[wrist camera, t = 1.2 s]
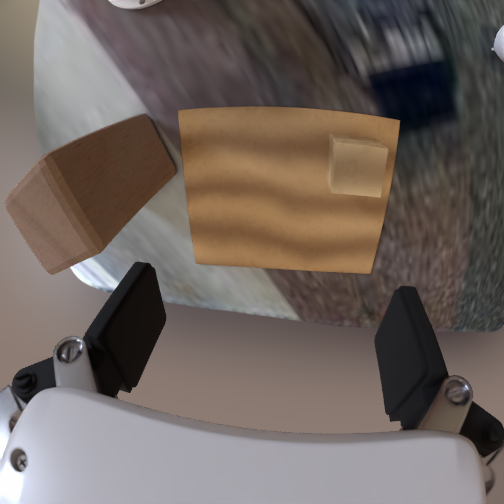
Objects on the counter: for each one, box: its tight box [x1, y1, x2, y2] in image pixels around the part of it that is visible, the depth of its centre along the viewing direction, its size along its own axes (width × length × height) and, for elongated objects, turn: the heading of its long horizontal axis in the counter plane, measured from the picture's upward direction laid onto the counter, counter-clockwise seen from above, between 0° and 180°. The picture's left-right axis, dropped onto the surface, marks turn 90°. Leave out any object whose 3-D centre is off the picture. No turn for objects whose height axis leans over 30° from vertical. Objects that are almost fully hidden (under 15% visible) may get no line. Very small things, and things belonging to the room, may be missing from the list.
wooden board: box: [178, 107, 400, 274], centre depth 37 cm, size 24×28×1 cm
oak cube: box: [327, 134, 388, 198], centre depth 31 cm, size 6×6×5 cm
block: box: [5, 114, 176, 275], centre depth 28 cm, size 10×10×20 cm
